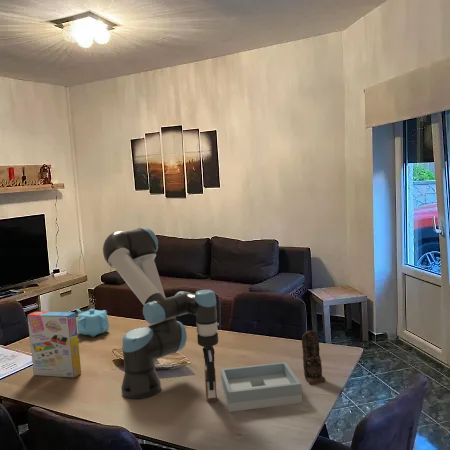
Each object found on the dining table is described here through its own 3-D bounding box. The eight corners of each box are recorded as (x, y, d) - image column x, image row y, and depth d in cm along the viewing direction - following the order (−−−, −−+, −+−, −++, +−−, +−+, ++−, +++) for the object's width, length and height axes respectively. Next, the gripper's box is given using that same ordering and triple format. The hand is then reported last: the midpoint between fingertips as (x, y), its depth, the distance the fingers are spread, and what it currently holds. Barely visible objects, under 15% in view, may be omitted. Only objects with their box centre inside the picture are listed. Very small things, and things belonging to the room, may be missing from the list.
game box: (81, 373, 198) (76, 312, 195) (74, 378, 193) (68, 315, 190) (41, 370, 204) (35, 310, 201) (32, 375, 198) (26, 314, 196)
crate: (229, 411, 158) (228, 392, 157) (221, 386, 178) (220, 369, 177) (301, 402, 162) (301, 383, 161) (286, 378, 181) (285, 361, 181)
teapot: (111, 327, 260) (109, 304, 258) (107, 336, 243) (105, 312, 242) (78, 330, 257) (76, 307, 256) (72, 340, 241) (69, 315, 240)
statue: (310, 385, 174) (308, 334, 172) (302, 378, 181) (300, 329, 179) (326, 382, 176) (324, 332, 174) (317, 375, 183) (315, 326, 181)
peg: (207, 401, 166) (205, 370, 165) (206, 397, 170) (204, 366, 169) (216, 400, 167) (215, 368, 166) (215, 396, 170) (213, 365, 169)
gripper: (220, 339, 158) (224, 404, 160) (215, 324, 174) (218, 383, 177) (199, 342, 157) (203, 406, 159) (195, 326, 173) (199, 385, 176)
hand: (211, 394), depth 168 cm, fingers closed on peg, 4 cm apart
